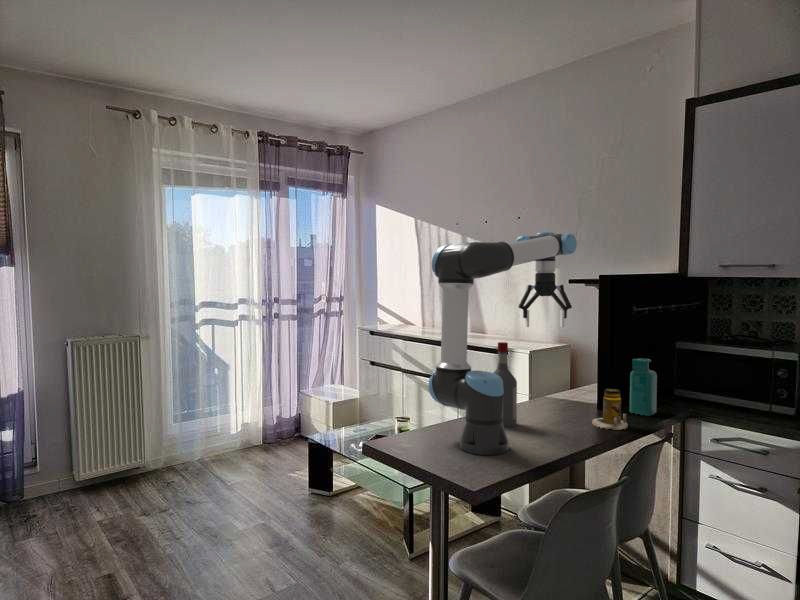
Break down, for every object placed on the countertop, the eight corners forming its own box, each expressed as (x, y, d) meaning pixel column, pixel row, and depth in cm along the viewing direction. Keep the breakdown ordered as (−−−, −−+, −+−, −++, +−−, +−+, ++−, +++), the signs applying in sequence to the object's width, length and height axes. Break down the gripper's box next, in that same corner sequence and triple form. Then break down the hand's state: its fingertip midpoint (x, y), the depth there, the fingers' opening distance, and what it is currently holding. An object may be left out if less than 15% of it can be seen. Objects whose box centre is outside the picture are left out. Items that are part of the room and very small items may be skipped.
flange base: (599, 429, 186) (599, 418, 186) (587, 421, 198) (587, 410, 198) (633, 430, 186) (633, 418, 186) (619, 421, 198) (619, 410, 198)
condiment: (623, 425, 187) (623, 392, 187) (597, 424, 189) (598, 390, 189) (620, 420, 194) (620, 388, 194) (595, 419, 196) (596, 387, 196)
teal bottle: (635, 409, 216) (636, 356, 216) (657, 413, 210) (658, 358, 210) (626, 413, 209) (627, 358, 209) (648, 417, 203) (649, 360, 203)
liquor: (510, 420, 198) (511, 341, 197) (518, 427, 189) (518, 344, 188) (486, 421, 197) (487, 341, 196) (492, 427, 188) (493, 344, 187)
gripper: (574, 272, 209) (573, 326, 210) (511, 272, 209) (510, 325, 210) (580, 272, 202) (579, 327, 202) (515, 272, 202) (514, 327, 202)
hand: (544, 326), depth 206 cm, fingers open, 13 cm apart
